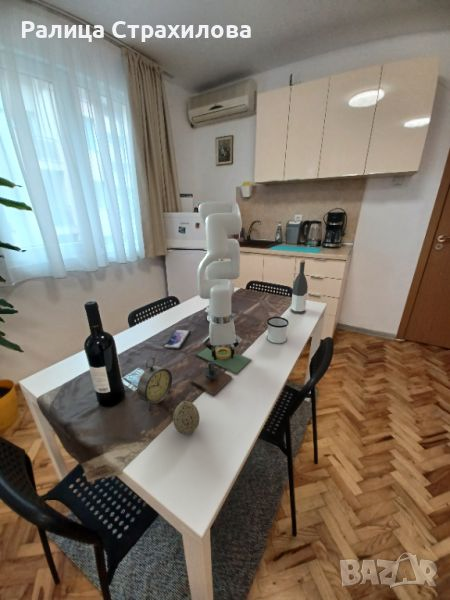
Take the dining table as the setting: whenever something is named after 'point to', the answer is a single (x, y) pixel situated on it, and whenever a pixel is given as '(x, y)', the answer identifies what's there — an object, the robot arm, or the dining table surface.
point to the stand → (212, 379)
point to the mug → (277, 329)
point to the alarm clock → (154, 384)
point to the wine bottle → (299, 291)
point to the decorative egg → (186, 417)
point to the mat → (225, 360)
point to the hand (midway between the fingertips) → (223, 356)
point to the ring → (222, 351)
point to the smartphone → (177, 339)
